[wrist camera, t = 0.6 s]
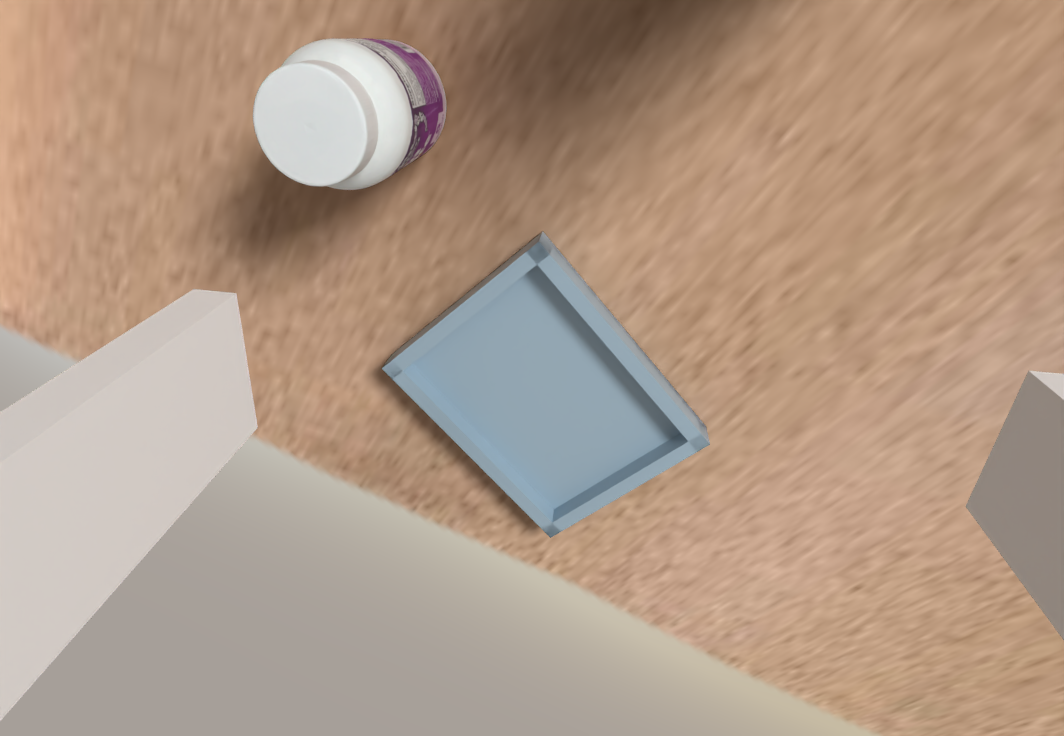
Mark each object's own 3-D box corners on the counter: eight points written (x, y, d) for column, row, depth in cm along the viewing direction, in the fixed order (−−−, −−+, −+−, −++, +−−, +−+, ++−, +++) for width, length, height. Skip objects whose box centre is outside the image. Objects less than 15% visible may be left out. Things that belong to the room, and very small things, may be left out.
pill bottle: (395, 184, 32) (316, 239, 24) (314, 96, 31) (199, 120, 22) (474, 108, 30) (418, 137, 22) (391, 9, 29) (297, -1, 20)
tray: (392, 354, 37) (381, 368, 35) (542, 231, 33) (538, 241, 31) (553, 517, 41) (550, 537, 39) (705, 426, 37) (709, 444, 35)
